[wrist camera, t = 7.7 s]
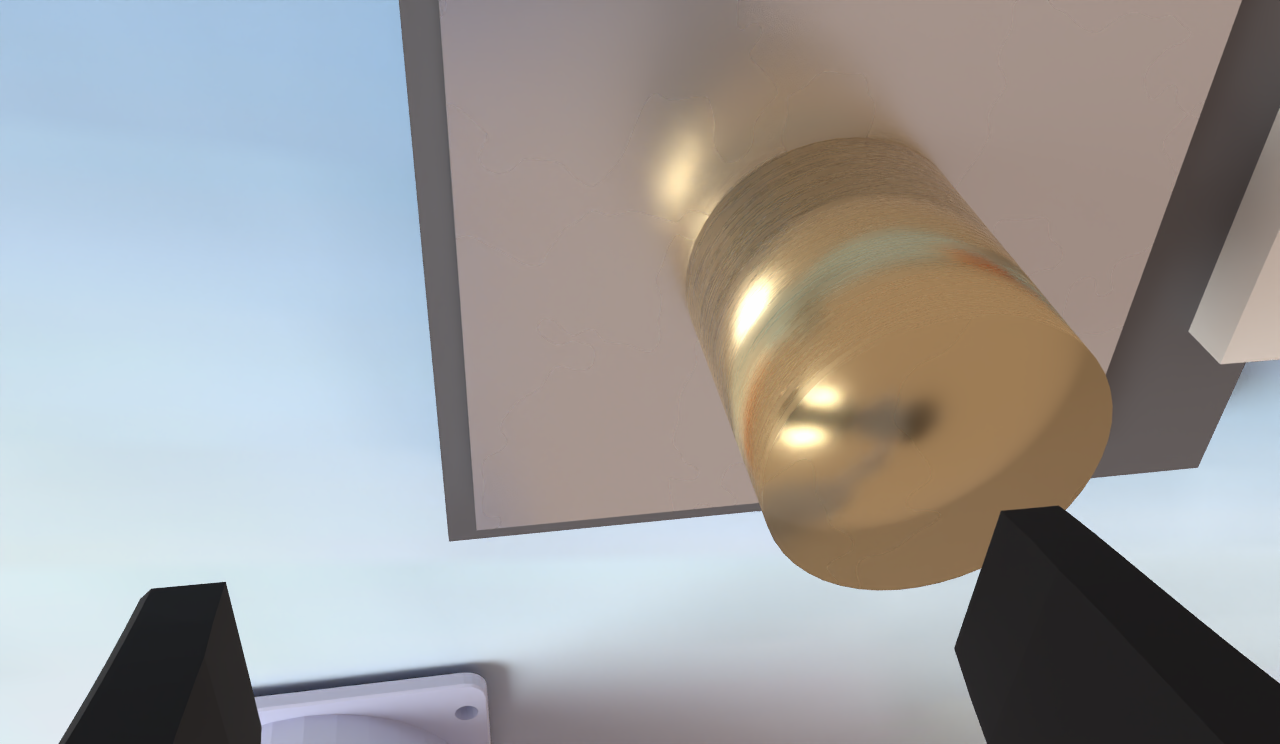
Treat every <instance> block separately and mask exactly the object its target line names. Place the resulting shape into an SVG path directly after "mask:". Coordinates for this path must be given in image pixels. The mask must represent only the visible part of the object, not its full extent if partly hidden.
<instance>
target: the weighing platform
mask: <svg viewBox="0 0 1280 744" xmlns="http://www.w3.org/2000/svg"><path fill="white" fill-rule="evenodd" d="M1241 2H1242V0H439V13H440V27H441V41H442V55H443V69H444V83H445V97H446V111H447V125H448V139H449V153H450V167H451V181H452V195H453V209H454V223H455V237H456V251H457V265H458V279H459V293H460V307H461V321H462V335H463V349H464V363H465V377H466V392H467V406H468V420H469V434H470V448H471V462H472V476H473V490H474V504H475V516H476V528H477V530H486V529H496V528H506V527H517V526H527V525H537V524H547V523H558V522H568V521H578V520H588V519H599V518H609V517H619V516H629V515H640V514H650V513H660V512H670V511H681V510H691V509H701V508H711V507H722V506H732V505H742V504H752V503H759V502H758V499H757V496H756V494H755V491H754V488H753V486H752V483H751V480H750V477H749V475H748V472H747V469H746V467H745V464H744V461H743V459H742V456H741V453H740V450H739V448H738V445H737V442H736V440H735V437H734V434H733V432H732V429H731V426H730V423H729V421H728V418H727V415H726V413H725V410H724V407H723V405H722V402H721V399H720V396H719V394H718V391H717V388H716V386H715V383H714V380H713V377H712V375H711V372H710V369H709V367H708V364H707V361H706V359H705V356H704V353H703V350H702V348H701V345H700V342H699V340H698V337H697V334H696V332H695V329H694V326H693V323H692V321H691V318H690V314H689V310H688V306H687V299H686V273H687V268H688V263H689V258H690V254H691V252H692V249H693V246H694V243H695V240H696V238H697V236H698V234H699V232H700V230H701V228H702V226H703V225H704V223H705V221H706V220H707V218H708V217H709V215H710V214H711V212H712V211H713V209H714V208H715V207H716V206H717V204H718V203H719V202H720V201H721V200H722V199H723V197H724V196H725V195H726V194H727V193H728V192H729V191H730V190H731V189H732V188H733V187H734V186H735V185H737V184H738V183H739V182H740V181H741V180H742V179H743V178H745V177H746V176H747V175H749V174H750V173H751V172H753V171H754V170H756V169H757V168H758V167H760V166H761V165H763V164H765V163H767V162H768V161H770V160H772V159H774V158H775V157H777V156H779V155H782V154H784V153H786V152H789V151H791V150H793V149H796V148H798V147H802V146H805V145H808V144H811V143H815V142H819V141H825V140H830V139H836V138H852V137H858V138H872V139H879V140H883V141H888V142H893V143H895V144H898V145H901V146H904V147H906V148H909V149H911V150H912V151H914V152H916V153H918V154H920V155H921V156H923V157H925V158H926V159H927V160H928V161H930V162H931V163H932V164H933V165H935V166H936V167H937V168H938V169H939V170H940V172H941V173H942V174H943V175H944V176H945V177H946V178H947V179H948V181H949V182H950V183H951V184H952V185H953V187H954V188H955V189H956V190H957V192H958V193H959V194H960V195H961V196H962V198H963V199H964V200H965V201H966V202H967V204H968V205H969V206H970V207H971V208H972V210H973V211H974V212H975V213H976V214H977V216H978V217H979V218H980V219H981V220H982V222H983V223H984V224H985V225H986V226H987V228H988V229H989V230H990V231H991V232H992V234H993V235H994V236H995V237H996V238H997V240H998V241H999V242H1000V243H1001V244H1002V246H1003V247H1004V248H1005V249H1006V251H1007V252H1008V253H1009V254H1010V255H1011V257H1012V258H1013V259H1014V260H1015V261H1016V263H1017V264H1018V265H1019V266H1020V267H1021V269H1022V270H1023V271H1024V272H1025V273H1026V275H1027V276H1028V277H1029V278H1030V279H1031V281H1032V282H1033V283H1034V284H1035V285H1036V287H1037V288H1038V289H1039V290H1040V291H1041V293H1042V294H1043V295H1044V296H1045V297H1046V299H1047V300H1048V301H1049V302H1050V303H1051V305H1052V306H1053V307H1054V308H1055V310H1056V311H1057V312H1058V313H1059V314H1060V316H1061V317H1062V318H1063V319H1064V320H1065V322H1066V323H1067V324H1068V325H1069V326H1070V328H1071V329H1072V330H1073V331H1074V332H1075V334H1076V335H1077V336H1078V337H1079V338H1080V340H1081V341H1082V342H1083V343H1084V344H1085V346H1086V347H1087V348H1088V349H1089V350H1090V352H1091V353H1092V354H1093V355H1094V356H1095V358H1096V359H1097V361H1098V362H1099V364H1100V366H1101V367H1102V369H1103V371H1104V372H1105V375H1106V373H1107V370H1108V367H1109V364H1110V362H1111V359H1112V356H1113V353H1114V351H1115V348H1116V345H1117V342H1118V340H1119V337H1120V334H1121V331H1122V329H1123V326H1124V323H1125V320H1126V318H1127V315H1128V312H1129V309H1130V307H1131V304H1132V301H1133V298H1134V296H1135V293H1136V290H1137V287H1138V285H1139V282H1140V279H1141V276H1142V274H1143V271H1144V268H1145V265H1146V263H1147V260H1148V257H1149V254H1150V252H1151V249H1152V246H1153V243H1154V241H1155V238H1156V235H1157V232H1158V230H1159V227H1160V224H1161V221H1162V219H1163V216H1164V213H1165V210H1166V208H1167V205H1168V202H1169V199H1170V197H1171V194H1172V191H1173V188H1174V186H1175V183H1176V180H1177V177H1178V175H1179V172H1180V169H1181V166H1182V164H1183V161H1184V158H1185V155H1186V153H1187V150H1188V147H1189V144H1190V142H1191V139H1192V136H1193V133H1194V131H1195V128H1196V125H1197V122H1198V120H1199V117H1200V114H1201V111H1202V109H1203V106H1204V103H1205V100H1206V98H1207V95H1208V92H1209V89H1210V87H1211V84H1212V81H1213V79H1214V76H1215V73H1216V70H1217V68H1218V65H1219V62H1220V59H1221V57H1222V54H1223V51H1224V48H1225V46H1226V43H1227V40H1228V37H1229V35H1230V32H1231V29H1232V26H1233V24H1234V21H1235V18H1236V15H1237V13H1238V10H1239V7H1240V4H1241Z"/></svg>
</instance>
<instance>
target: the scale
mask: <svg viewBox="0 0 1280 744" xmlns="http://www.w3.org/2000/svg"><path fill="white" fill-rule="evenodd" d="M399 7H400V18H401V29H402V40H403V50H404V61H405V72H406V83H407V93H408V104H409V115H410V126H411V137H412V147H413V158H414V169H415V180H416V190H417V201H418V212H419V223H420V233H421V244H422V255H423V266H424V277H425V287H426V298H427V309H428V320H429V330H430V341H431V352H432V363H433V373H434V384H435V395H436V406H437V417H438V427H439V438H440V449H441V460H442V470H443V481H444V492H445V503H446V514H447V524H448V535H449V541H459V540H469V539H479V538H489V537H499V536H509V535H520V534H530V533H540V532H550V531H560V530H570V529H580V528H591V527H601V526H611V525H621V524H631V523H641V522H651V521H661V520H672V519H682V518H692V517H702V516H712V515H722V514H732V513H742V512H753V511H762V510H761V507H760V504H759V503H752V504H742V505H732V506H722V507H711V508H701V509H691V510H681V511H670V512H660V513H650V514H640V515H629V516H619V517H609V518H599V519H588V520H578V521H568V522H558V523H547V524H537V525H527V526H517V527H506V528H496V529H486V530H477V528H476V516H475V504H474V490H473V476H472V462H471V448H470V434H469V420H468V406H467V392H466V377H465V363H464V349H463V335H462V321H461V307H460V293H459V279H458V265H457V251H456V237H455V223H454V209H453V195H452V181H451V167H450V153H449V139H448V125H447V111H446V97H445V83H444V69H443V55H442V41H441V27H440V13H439V0H399ZM1279 359H1280V0H1242V2H1241V4H1240V7H1239V10H1238V13H1237V15H1236V18H1235V21H1234V24H1233V26H1232V29H1231V32H1230V35H1229V37H1228V40H1227V43H1226V46H1225V48H1224V51H1223V54H1222V57H1221V59H1220V62H1219V65H1218V68H1217V70H1216V73H1215V76H1214V79H1213V81H1212V84H1211V87H1210V89H1209V92H1208V95H1207V98H1206V100H1205V103H1204V106H1203V109H1202V111H1201V114H1200V117H1199V120H1198V122H1197V125H1196V128H1195V131H1194V133H1193V136H1192V139H1191V142H1190V144H1189V147H1188V150H1187V153H1186V155H1185V158H1184V161H1183V164H1182V166H1181V169H1180V172H1179V175H1178V177H1177V180H1176V183H1175V186H1174V188H1173V191H1172V194H1171V197H1170V199H1169V202H1168V205H1167V208H1166V210H1165V213H1164V216H1163V219H1162V221H1161V224H1160V227H1159V230H1158V232H1157V235H1156V238H1155V241H1154V243H1153V246H1152V249H1151V252H1150V254H1149V257H1148V260H1147V263H1146V265H1145V268H1144V271H1143V274H1142V276H1141V279H1140V282H1139V285H1138V287H1137V290H1136V293H1135V296H1134V298H1133V301H1132V304H1131V307H1130V309H1129V312H1128V315H1127V318H1126V320H1125V323H1124V326H1123V329H1122V331H1121V334H1120V337H1119V340H1118V342H1117V345H1116V348H1115V351H1114V353H1113V356H1112V359H1111V362H1110V364H1109V367H1108V370H1107V373H1106V378H1107V381H1108V383H1109V386H1110V390H1111V397H1112V404H1113V408H1112V424H1111V429H1110V434H1109V439H1108V442H1107V445H1106V447H1105V450H1104V453H1103V456H1102V458H1101V460H1100V462H1099V464H1098V466H1097V468H1096V470H1095V471H1094V473H1093V475H1092V477H1091V478H1097V477H1107V476H1117V475H1127V474H1138V473H1148V472H1158V471H1168V470H1178V469H1188V468H1198V466H1199V464H1200V462H1201V459H1202V457H1203V455H1204V453H1205V451H1206V448H1207V446H1208V444H1209V442H1210V440H1211V438H1212V435H1213V433H1214V431H1215V429H1216V427H1217V424H1218V422H1219V420H1220V418H1221V416H1222V413H1223V411H1224V409H1225V407H1226V405H1227V402H1228V400H1229V398H1230V396H1231V394H1232V391H1233V389H1234V387H1235V385H1236V383H1237V380H1238V378H1239V376H1240V374H1241V372H1242V369H1243V367H1244V365H1245V363H1246V362H1255V361H1267V360H1279Z"/></svg>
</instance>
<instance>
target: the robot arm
mask: <svg viewBox="0 0 1280 744" xmlns="http://www.w3.org/2000/svg"><path fill="white" fill-rule="evenodd" d="M954 649H955V652H956V655H957V658H958V661H959V664H960V667H961V670H962V673H963V676H964V679H965V682H966V686H967V689H968V692H969V695H970V698H971V701H972V704H973V706H974V709H975V712H976V715H977V717H978V720H979V723H980V726H981V728H982V731H983V734H984V737H985V739H986V742H987V744H1280V683H1278V682H1277V681H1276V680H1275V679H1273V678H1272V677H1271V676H1269V675H1268V674H1267V673H1266V672H1264V671H1263V670H1262V669H1260V668H1259V667H1258V666H1257V665H1255V664H1254V663H1253V662H1251V661H1250V660H1249V659H1248V658H1246V657H1245V656H1244V655H1243V654H1241V653H1240V652H1239V651H1238V650H1236V649H1235V648H1234V647H1233V646H1231V645H1230V644H1229V643H1228V642H1226V641H1225V640H1224V639H1223V638H1221V637H1220V636H1219V635H1218V634H1216V633H1215V632H1214V631H1213V630H1211V629H1210V628H1209V627H1208V626H1207V625H1205V624H1204V623H1203V622H1202V621H1200V620H1199V619H1198V618H1197V617H1195V616H1194V615H1193V614H1192V613H1191V612H1189V611H1188V610H1187V609H1186V608H1184V607H1183V606H1182V605H1181V604H1180V603H1178V602H1177V601H1176V600H1175V599H1174V598H1172V597H1171V596H1170V595H1169V594H1167V593H1166V592H1165V591H1164V590H1163V589H1161V588H1160V587H1159V586H1158V585H1156V584H1155V583H1154V582H1153V581H1152V580H1150V579H1149V578H1148V577H1147V576H1146V575H1144V574H1143V573H1142V572H1141V571H1140V570H1138V569H1137V568H1136V567H1135V566H1133V565H1132V564H1131V563H1130V562H1129V561H1127V560H1126V559H1125V558H1124V557H1123V556H1121V555H1120V554H1119V553H1118V552H1116V551H1115V550H1114V549H1113V548H1112V547H1110V546H1109V545H1108V544H1107V543H1106V542H1104V541H1103V540H1102V539H1101V538H1099V537H1098V536H1097V535H1096V534H1095V533H1093V532H1092V531H1091V530H1090V529H1088V528H1087V527H1086V526H1085V525H1083V524H1082V523H1081V522H1080V521H1078V520H1077V519H1076V518H1074V517H1073V516H1072V515H1071V514H1069V513H1068V512H1067V511H1065V510H1064V509H1063V508H1061V507H1060V506H1059V505H1058V506H1047V507H1036V508H1026V509H1015V510H1004V511H1001V512H1000V515H999V518H998V521H997V524H996V527H995V530H994V533H993V536H992V538H991V541H990V544H989V547H988V550H987V553H986V556H985V559H984V562H983V565H982V568H981V571H980V574H979V577H978V580H977V583H976V586H975V589H974V592H973V595H972V597H971V600H970V603H969V606H968V609H967V612H966V615H965V618H964V621H963V624H962V627H961V630H960V633H959V636H958V639H957V642H956V645H955V648H954ZM59 744H491V737H490V723H489V709H488V695H487V684H486V681H485V679H484V678H483V677H481V676H480V675H478V674H474V673H455V674H446V675H438V676H429V677H421V678H412V679H404V680H395V681H387V682H378V683H370V684H361V685H353V686H344V687H336V688H327V689H319V690H310V691H302V692H293V693H285V694H276V695H268V696H259V697H254V694H253V690H252V686H251V682H250V678H249V674H248V670H247V666H246V662H245V658H244V654H243V650H242V646H241V642H240V638H239V634H238V630H237V626H236V622H235V618H234V613H233V609H232V605H231V601H230V597H229V593H228V589H227V585H226V582H219V583H208V584H198V585H187V586H176V587H165V588H154V589H151V590H150V591H148V592H147V593H146V594H145V595H144V596H143V597H142V598H141V599H140V600H139V602H138V604H137V606H136V608H135V610H134V612H133V614H132V616H131V618H130V620H129V622H128V624H127V625H126V627H125V629H124V631H123V633H122V635H121V636H120V638H119V640H118V642H117V644H116V646H115V647H114V649H113V651H112V653H111V655H110V657H109V658H108V660H107V662H106V664H105V666H104V667H103V669H102V671H101V673H100V674H99V676H98V678H97V680H96V681H95V683H94V685H93V687H92V688H91V690H90V692H89V694H88V695H87V697H86V699H85V700H84V702H83V704H82V705H81V707H80V709H79V710H78V712H77V714H76V716H75V717H74V719H73V721H72V722H71V724H70V726H69V727H68V729H67V731H66V732H65V734H64V736H63V737H62V739H61V741H60V742H59Z"/></svg>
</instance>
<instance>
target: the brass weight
mask: <svg viewBox="0 0 1280 744" xmlns="http://www.w3.org/2000/svg"><path fill="white" fill-rule="evenodd" d="M686 299H687V306H688V310H689V314H690V318H691V321H692V323H693V326H694V329H695V332H696V334H697V337H698V340H699V342H700V345H701V348H702V350H703V353H704V356H705V359H706V361H707V364H708V367H709V369H710V372H711V375H712V377H713V380H714V383H715V386H716V388H717V391H718V394H719V396H720V399H721V402H722V405H723V407H724V410H725V413H726V415H727V418H728V421H729V423H730V426H731V429H732V432H733V434H734V437H735V440H736V442H737V445H738V448H739V450H740V453H741V456H742V459H743V461H744V464H745V467H746V469H747V472H748V475H749V477H750V480H751V483H752V486H753V488H754V491H755V494H756V496H757V499H758V502H759V504H760V507H761V510H762V513H763V515H764V518H765V521H766V523H767V526H768V528H769V530H770V533H771V535H772V537H773V539H774V541H775V542H776V544H777V545H778V546H779V548H780V549H781V551H782V552H783V553H784V554H785V555H786V556H787V557H788V558H789V559H790V560H791V561H792V562H793V563H794V564H796V565H797V566H799V567H800V568H802V569H803V570H804V571H806V572H807V573H809V574H811V575H813V576H816V577H818V578H820V579H822V580H824V581H827V582H831V583H834V584H837V585H840V586H845V587H851V588H856V589H867V590H900V589H908V588H916V587H922V586H926V585H931V584H936V583H940V582H944V581H947V580H950V579H954V578H957V577H960V576H963V575H965V574H968V573H970V572H973V571H976V570H978V569H981V568H982V565H983V562H984V559H985V556H986V553H987V550H988V547H989V544H990V541H991V538H992V536H993V533H994V530H995V527H996V524H997V521H998V518H999V515H1000V512H1001V511H1004V510H1015V509H1026V508H1036V507H1047V506H1058V505H1059V506H1060V507H1061V508H1063V509H1064V510H1066V509H1067V508H1068V507H1069V506H1070V505H1071V503H1072V502H1073V501H1074V500H1075V499H1076V497H1077V496H1078V495H1079V494H1080V493H1081V491H1082V490H1083V488H1084V487H1085V485H1086V484H1087V483H1088V481H1089V480H1090V478H1091V477H1092V475H1093V473H1094V471H1095V470H1096V468H1097V466H1098V464H1099V462H1100V460H1101V458H1102V456H1103V453H1104V450H1105V447H1106V445H1107V442H1108V439H1109V434H1110V429H1111V424H1112V408H1113V404H1112V397H1111V390H1110V386H1109V383H1108V381H1107V378H1106V375H1105V372H1104V371H1103V369H1102V367H1101V366H1100V364H1099V362H1098V361H1097V359H1096V358H1095V356H1094V355H1093V354H1092V353H1091V352H1090V350H1089V349H1088V348H1087V347H1086V346H1085V344H1084V343H1083V342H1082V341H1081V340H1080V338H1079V337H1078V336H1077V335H1076V334H1075V332H1074V331H1073V330H1072V329H1071V328H1070V326H1069V325H1068V324H1067V323H1066V322H1065V320H1064V319H1063V318H1062V317H1061V316H1060V314H1059V313H1058V312H1057V311H1056V310H1055V308H1054V307H1053V306H1052V305H1051V303H1050V302H1049V301H1048V300H1047V299H1046V297H1045V296H1044V295H1043V294H1042V293H1041V291H1040V290H1039V289H1038V288H1037V287H1036V285H1035V284H1034V283H1033V282H1032V281H1031V279H1030V278H1029V277H1028V276H1027V275H1026V273H1025V272H1024V271H1023V270H1022V269H1021V267H1020V266H1019V265H1018V264H1017V263H1016V261H1015V260H1014V259H1013V258H1012V257H1011V255H1010V254H1009V253H1008V252H1007V251H1006V249H1005V248H1004V247H1003V246H1002V244H1001V243H1000V242H999V241H998V240H997V238H996V237H995V236H994V235H993V234H992V232H991V231H990V230H989V229H988V228H987V226H986V225H985V224H984V223H983V222H982V220H981V219H980V218H979V217H978V216H977V214H976V213H975V212H974V211H973V210H972V208H971V207H970V206H969V205H968V204H967V202H966V201H965V200H964V199H963V198H962V196H961V195H960V194H959V193H958V192H957V190H956V189H955V188H954V187H953V185H952V184H951V183H950V182H949V181H948V179H947V178H946V177H945V176H944V175H943V174H942V173H941V172H940V170H939V169H938V168H937V167H936V166H935V165H933V164H932V163H931V162H930V161H928V160H927V159H926V158H925V157H923V156H921V155H920V154H918V153H916V152H914V151H912V150H911V149H909V148H906V147H904V146H901V145H898V144H895V143H893V142H888V141H883V140H879V139H872V138H858V137H852V138H836V139H830V140H825V141H819V142H815V143H811V144H808V145H805V146H802V147H798V148H796V149H793V150H791V151H789V152H786V153H784V154H782V155H779V156H777V157H775V158H774V159H772V160H770V161H768V162H767V163H765V164H763V165H761V166H760V167H758V168H757V169H756V170H754V171H753V172H751V173H750V174H749V175H747V176H746V177H745V178H743V179H742V180H741V181H740V182H739V183H738V184H737V185H735V186H734V187H733V188H732V189H731V190H730V191H729V192H728V193H727V194H726V195H725V196H724V197H723V199H722V200H721V201H720V202H719V203H718V204H717V206H716V207H715V208H714V209H713V211H712V212H711V214H710V215H709V217H708V218H707V220H706V221H705V223H704V225H703V226H702V228H701V230H700V232H699V234H698V236H697V238H696V240H695V243H694V246H693V249H692V252H691V254H690V258H689V263H688V268H687V273H686Z"/></svg>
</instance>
